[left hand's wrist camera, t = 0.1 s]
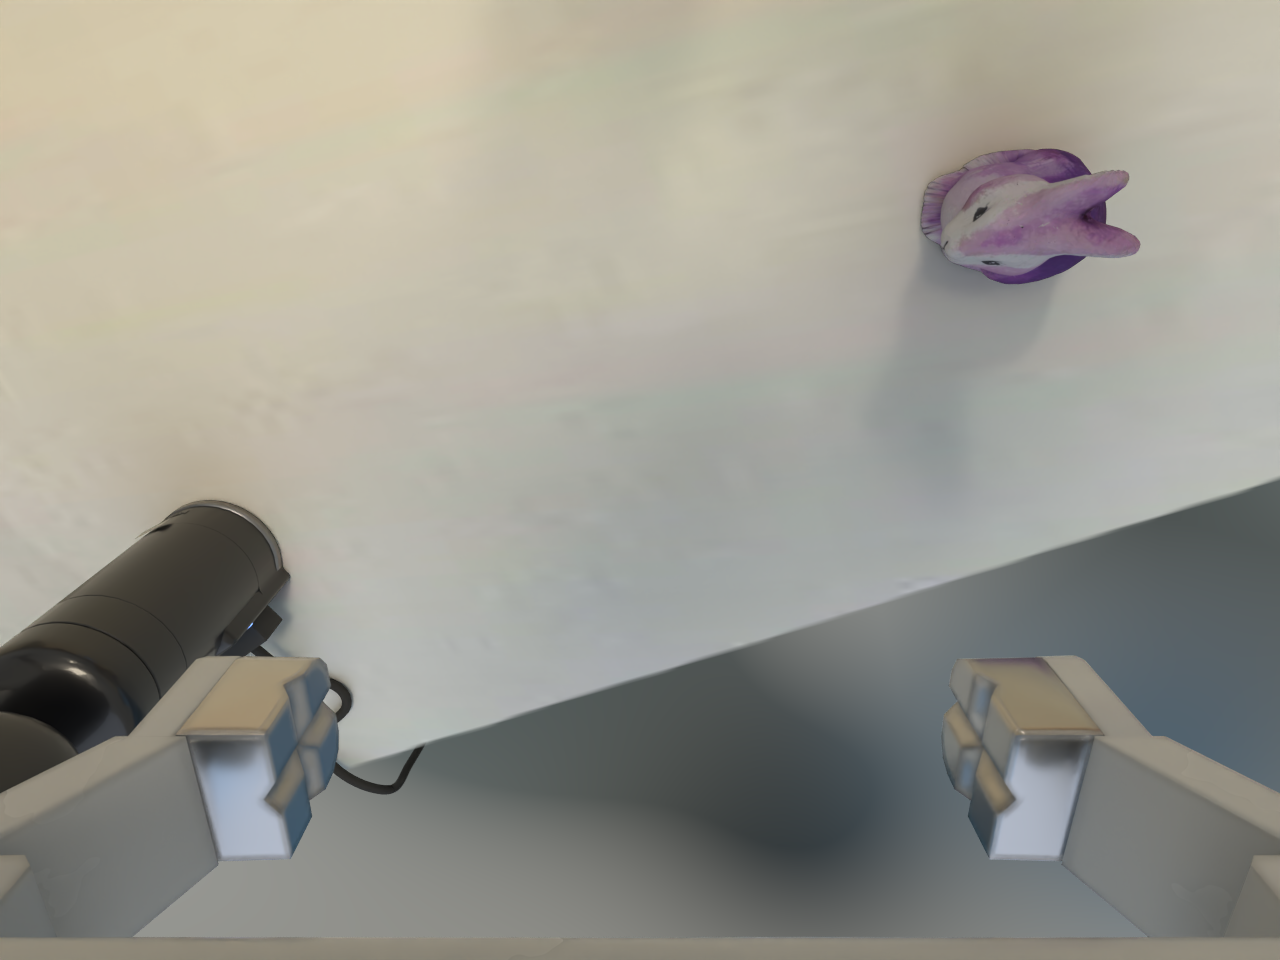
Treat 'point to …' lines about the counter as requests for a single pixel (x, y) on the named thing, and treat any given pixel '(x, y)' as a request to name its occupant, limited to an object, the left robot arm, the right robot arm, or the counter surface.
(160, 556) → the right robot arm
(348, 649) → the counter surface
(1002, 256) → the figurine
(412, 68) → the counter surface
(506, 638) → the counter surface
